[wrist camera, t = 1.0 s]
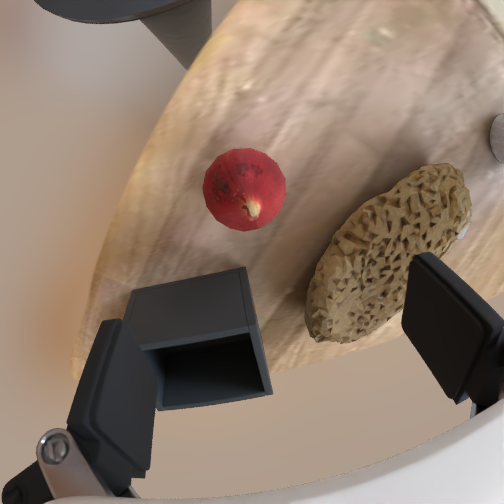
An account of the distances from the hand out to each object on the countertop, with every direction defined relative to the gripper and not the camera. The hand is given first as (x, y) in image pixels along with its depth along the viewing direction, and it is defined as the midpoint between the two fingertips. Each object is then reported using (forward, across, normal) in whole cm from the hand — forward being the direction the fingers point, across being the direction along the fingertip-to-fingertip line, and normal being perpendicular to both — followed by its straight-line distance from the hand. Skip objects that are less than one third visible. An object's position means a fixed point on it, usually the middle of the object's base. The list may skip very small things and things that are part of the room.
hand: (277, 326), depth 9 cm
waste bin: (+18, +6, +13) cm, 23 cm away
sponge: (+18, -12, +9) cm, 23 cm away
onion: (+18, 0, 0) cm, 18 cm away
